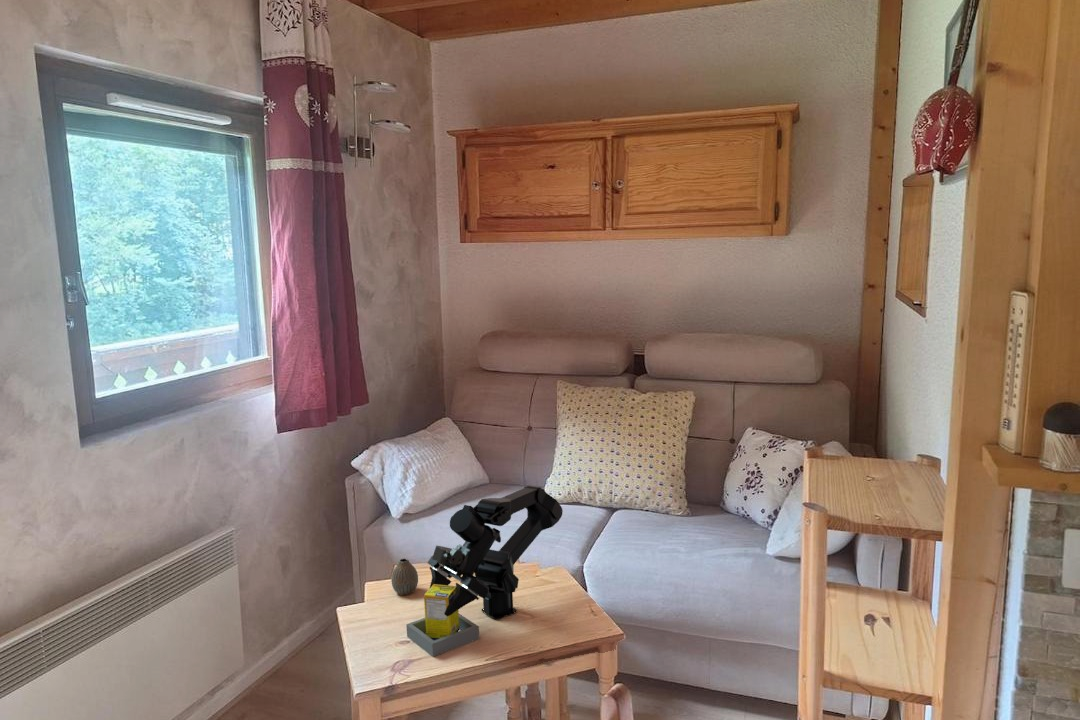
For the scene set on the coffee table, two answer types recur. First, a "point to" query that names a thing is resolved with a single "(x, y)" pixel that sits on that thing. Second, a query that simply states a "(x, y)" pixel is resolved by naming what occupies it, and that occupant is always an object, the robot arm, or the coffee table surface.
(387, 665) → the coffee table surface
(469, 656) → the coffee table surface
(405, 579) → the vase
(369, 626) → the coffee table surface
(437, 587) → the supplement box
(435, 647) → the collar
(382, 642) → the coffee table surface
